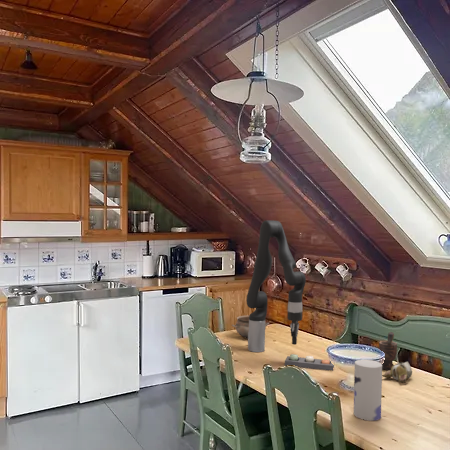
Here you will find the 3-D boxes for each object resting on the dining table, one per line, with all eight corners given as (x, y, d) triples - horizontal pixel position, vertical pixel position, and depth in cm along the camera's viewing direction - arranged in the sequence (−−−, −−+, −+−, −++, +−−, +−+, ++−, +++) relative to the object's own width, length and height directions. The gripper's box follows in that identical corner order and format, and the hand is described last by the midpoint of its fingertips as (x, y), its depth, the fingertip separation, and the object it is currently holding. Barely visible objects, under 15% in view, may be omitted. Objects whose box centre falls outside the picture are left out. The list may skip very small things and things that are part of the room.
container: (349, 410, 184) (350, 359, 184) (374, 410, 185) (375, 359, 185) (359, 421, 174) (360, 367, 174) (385, 420, 175) (386, 367, 175)
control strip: (284, 365, 240) (284, 360, 240) (287, 360, 248) (287, 356, 248) (333, 370, 233) (333, 365, 233) (334, 365, 242) (334, 360, 242)
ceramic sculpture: (418, 360, 223) (401, 368, 213) (418, 379, 223) (402, 387, 213) (397, 355, 231) (380, 363, 221) (397, 373, 231) (380, 381, 222)
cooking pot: (236, 342, 283) (237, 322, 283) (226, 335, 301) (226, 316, 301) (274, 340, 292) (275, 320, 291) (262, 333, 309) (262, 314, 309)
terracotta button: (321, 366, 237) (321, 361, 237) (321, 364, 241) (321, 359, 241) (329, 367, 236) (329, 362, 236) (329, 365, 240) (329, 360, 240)
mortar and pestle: (403, 372, 232) (404, 332, 232) (387, 373, 231) (388, 332, 231) (390, 365, 244) (391, 327, 244) (375, 366, 242) (376, 327, 242)
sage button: (289, 361, 241) (289, 355, 241) (290, 359, 245) (290, 353, 245) (297, 362, 240) (297, 356, 240) (298, 359, 244) (298, 354, 244)
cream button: (305, 362, 239) (305, 357, 239) (306, 360, 243) (306, 355, 243) (313, 363, 238) (313, 358, 238) (313, 361, 242) (314, 356, 242)
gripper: (289, 307, 250) (288, 340, 250) (285, 312, 237) (285, 346, 237) (303, 308, 248) (303, 341, 248) (300, 313, 235) (300, 348, 235)
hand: (294, 344), depth 243 cm, fingers closed
